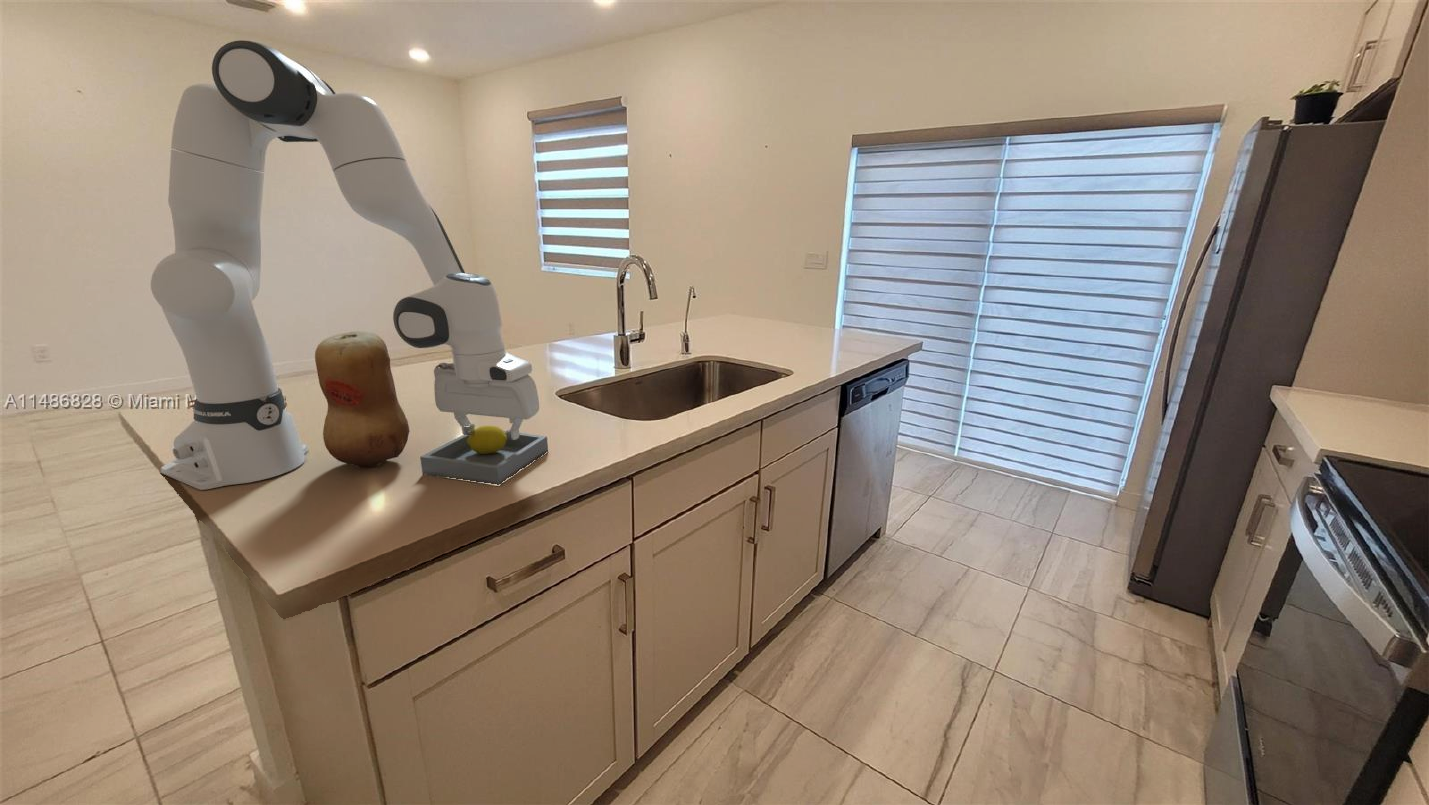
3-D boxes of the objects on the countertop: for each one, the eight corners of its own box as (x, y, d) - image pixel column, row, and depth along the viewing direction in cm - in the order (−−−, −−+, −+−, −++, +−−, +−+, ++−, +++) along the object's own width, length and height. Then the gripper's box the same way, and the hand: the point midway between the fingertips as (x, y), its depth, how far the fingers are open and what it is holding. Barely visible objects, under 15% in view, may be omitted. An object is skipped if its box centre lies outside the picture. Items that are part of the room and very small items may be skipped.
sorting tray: (422, 474, 100) (420, 456, 99) (480, 443, 115) (478, 427, 114) (499, 486, 97) (497, 468, 96) (548, 452, 111) (547, 436, 110)
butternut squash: (313, 479, 97) (282, 340, 90) (354, 450, 110) (331, 325, 102) (394, 479, 98) (371, 341, 91) (426, 449, 111) (408, 326, 103)
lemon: (476, 444, 112) (515, 439, 111) (467, 461, 107) (507, 457, 107) (466, 422, 108) (506, 417, 108) (456, 439, 104) (498, 434, 103)
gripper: (420, 366, 100) (433, 437, 104) (519, 373, 94) (528, 447, 99) (445, 357, 105) (456, 425, 110) (539, 364, 100) (547, 435, 104)
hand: (491, 436), depth 104 cm, fingers open, 8 cm apart
